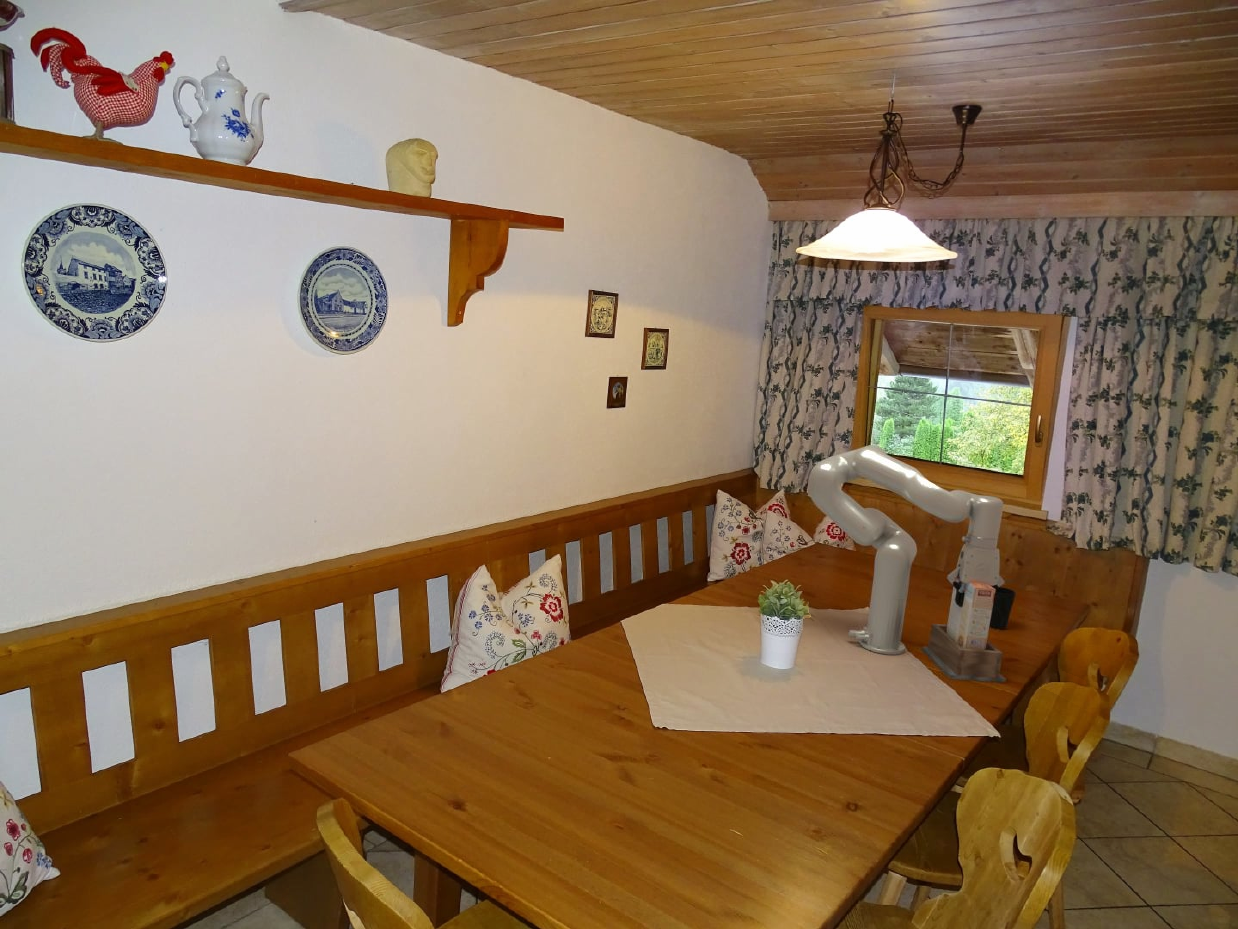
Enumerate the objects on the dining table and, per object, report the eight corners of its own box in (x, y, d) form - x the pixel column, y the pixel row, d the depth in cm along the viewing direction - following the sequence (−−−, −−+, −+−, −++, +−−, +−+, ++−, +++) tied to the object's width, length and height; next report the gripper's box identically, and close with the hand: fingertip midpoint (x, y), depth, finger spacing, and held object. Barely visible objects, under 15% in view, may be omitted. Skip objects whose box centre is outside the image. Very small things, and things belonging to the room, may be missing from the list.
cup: (1005, 633, 272) (1012, 596, 270) (980, 626, 277) (986, 589, 275) (1012, 627, 278) (1018, 591, 276) (987, 620, 283) (993, 584, 281)
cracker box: (984, 664, 234) (996, 588, 231) (961, 662, 234) (973, 586, 231) (965, 644, 248) (976, 573, 244) (943, 642, 248) (954, 571, 244)
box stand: (949, 678, 232) (954, 649, 230) (921, 649, 251) (925, 622, 250) (1005, 682, 232) (1010, 654, 231) (972, 653, 252) (977, 626, 251)
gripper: (955, 543, 232) (945, 608, 235) (1019, 548, 232) (1008, 613, 236) (944, 536, 239) (934, 599, 242) (1006, 540, 240) (996, 604, 243)
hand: (971, 605), depth 239 cm, fingers closed on cracker box, 6 cm apart
